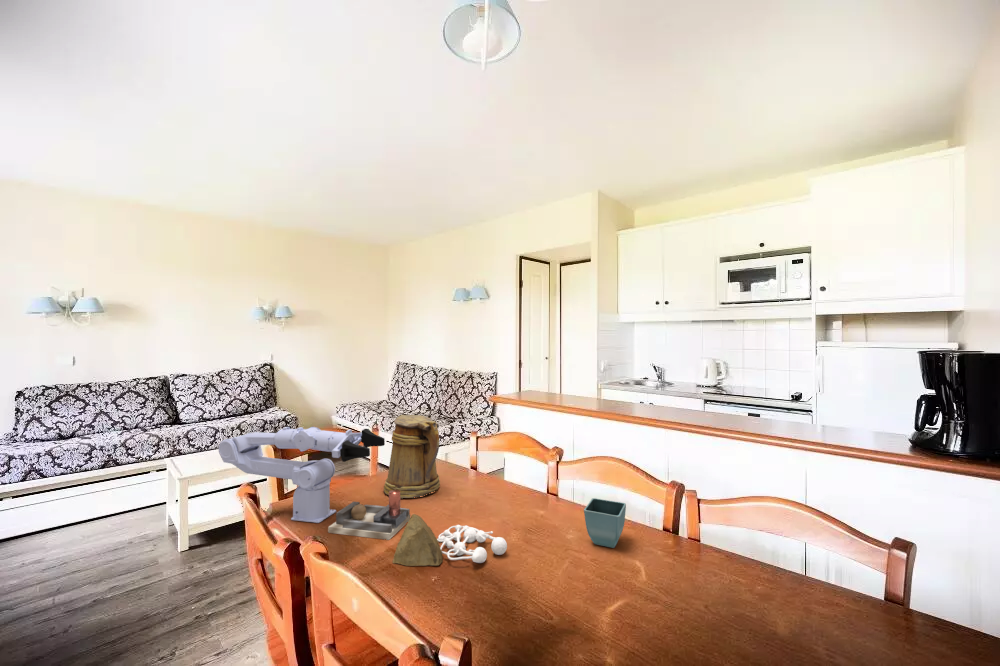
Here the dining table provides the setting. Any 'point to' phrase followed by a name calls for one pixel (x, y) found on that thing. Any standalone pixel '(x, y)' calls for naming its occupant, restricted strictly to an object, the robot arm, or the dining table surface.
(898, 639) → the dining table surface
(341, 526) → the base
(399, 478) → the tankard
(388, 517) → the sliding jaw
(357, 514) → the walnut
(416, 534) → the rock
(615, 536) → the flower pot
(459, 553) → the white knotted ball cord
